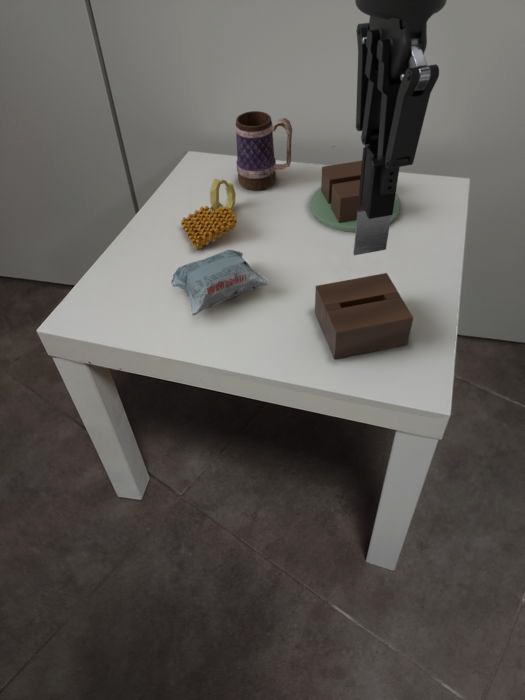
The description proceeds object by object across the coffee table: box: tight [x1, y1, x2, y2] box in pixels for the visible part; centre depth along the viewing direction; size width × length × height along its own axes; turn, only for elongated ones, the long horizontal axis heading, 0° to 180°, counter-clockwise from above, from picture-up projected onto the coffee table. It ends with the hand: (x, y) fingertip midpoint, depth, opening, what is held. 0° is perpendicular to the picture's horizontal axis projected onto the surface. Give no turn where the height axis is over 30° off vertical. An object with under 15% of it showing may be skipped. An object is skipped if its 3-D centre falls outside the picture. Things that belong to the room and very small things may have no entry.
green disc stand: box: [310, 160, 401, 233], centre depth 91 cm, size 15×15×5 cm
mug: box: [235, 110, 293, 191], centre depth 95 cm, size 10×7×12 cm
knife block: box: [314, 272, 414, 360], centre depth 71 cm, size 9×10×5 cm
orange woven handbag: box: [180, 178, 238, 250], centre depth 89 cm, size 7×10×15 cm
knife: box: [352, 145, 391, 256], centre depth 60 cm, size 2×4×13 cm, turn 103°
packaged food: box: [171, 249, 270, 317], centre depth 78 cm, size 9×12×5 cm
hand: (375, 208), depth 60 cm, fingers closed on knife, 2 cm apart
